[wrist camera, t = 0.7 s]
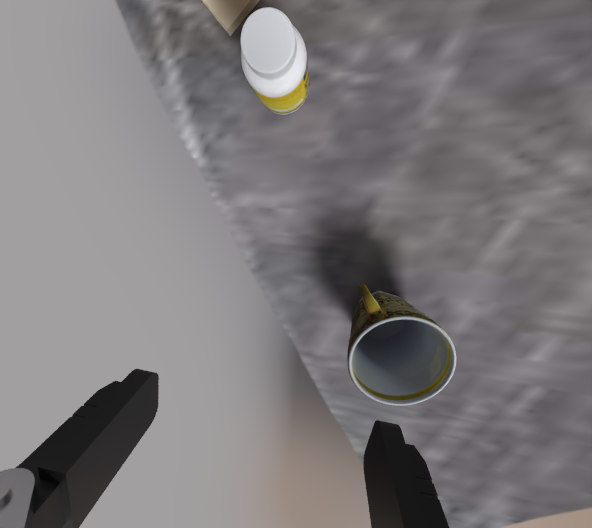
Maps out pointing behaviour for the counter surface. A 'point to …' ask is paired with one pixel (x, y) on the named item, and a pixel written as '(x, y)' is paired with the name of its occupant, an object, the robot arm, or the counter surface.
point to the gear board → (230, 12)
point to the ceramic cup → (397, 351)
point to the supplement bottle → (275, 60)
